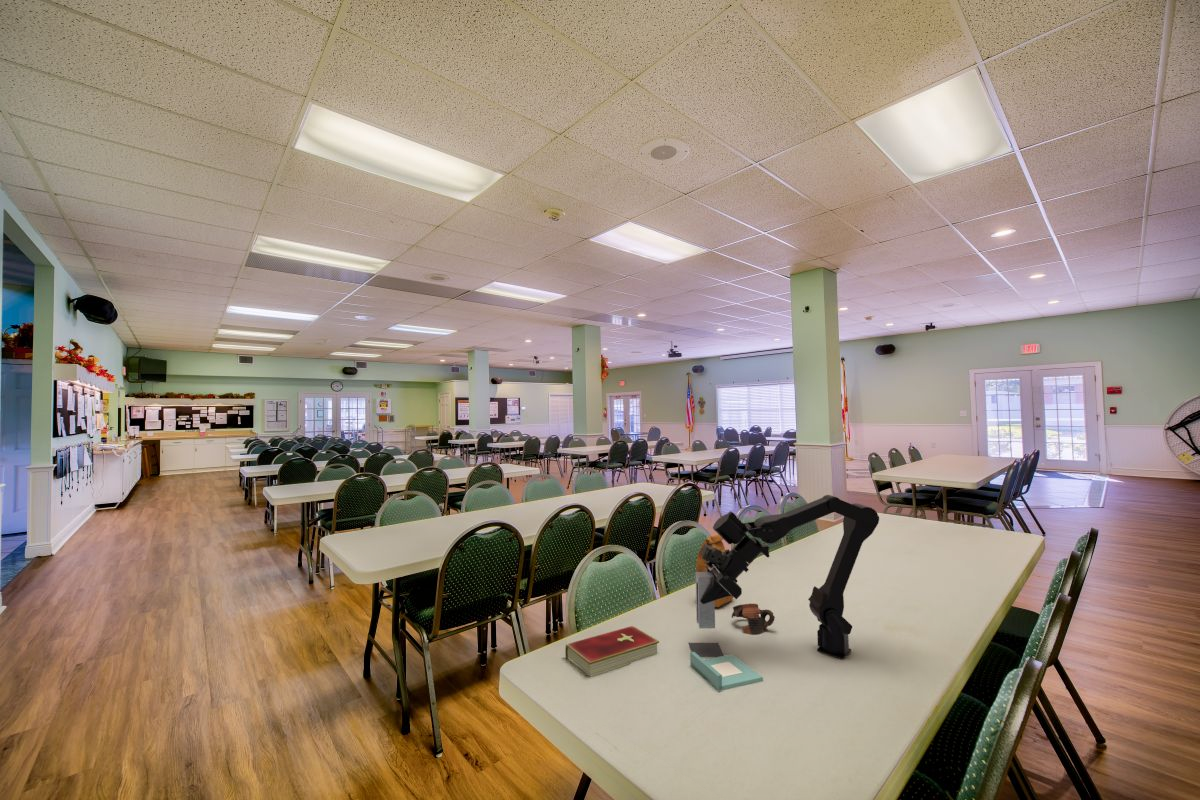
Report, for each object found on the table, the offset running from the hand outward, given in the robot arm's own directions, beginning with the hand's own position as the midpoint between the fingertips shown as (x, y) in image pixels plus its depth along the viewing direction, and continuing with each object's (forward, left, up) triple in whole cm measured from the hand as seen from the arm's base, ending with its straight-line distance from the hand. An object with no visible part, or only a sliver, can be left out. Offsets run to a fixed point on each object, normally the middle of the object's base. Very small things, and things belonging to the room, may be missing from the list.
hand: (699, 599), depth 129 cm
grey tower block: (-1, -1, -7) cm, 7 cm away
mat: (-1, -1, -13) cm, 13 cm away
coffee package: (+16, -33, -14) cm, 39 cm away
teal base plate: (-11, +6, -13) cm, 18 cm away
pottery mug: (-3, -22, -14) cm, 26 cm away
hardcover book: (+15, +18, -14) cm, 27 cm away
